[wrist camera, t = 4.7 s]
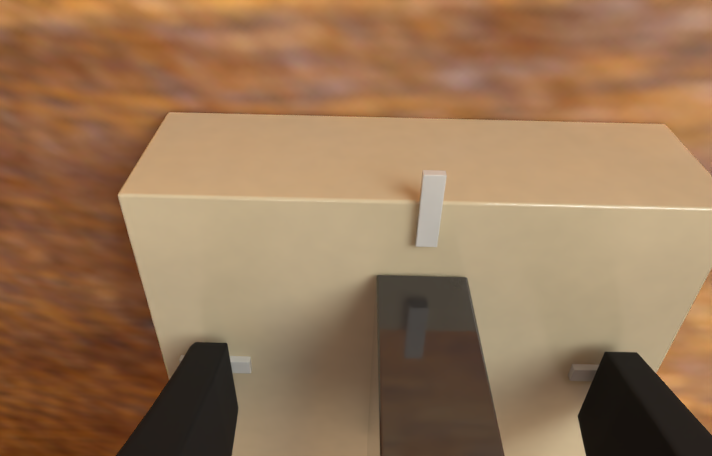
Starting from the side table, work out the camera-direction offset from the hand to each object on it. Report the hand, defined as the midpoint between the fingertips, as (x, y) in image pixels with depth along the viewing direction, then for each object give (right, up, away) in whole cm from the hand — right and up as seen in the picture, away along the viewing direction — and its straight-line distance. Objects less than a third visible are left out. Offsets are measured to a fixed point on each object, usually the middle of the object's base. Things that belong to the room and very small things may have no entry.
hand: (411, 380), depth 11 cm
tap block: (0, +2, +3) cm, 3 cm away
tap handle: (0, 0, 0) cm, 0 cm away
